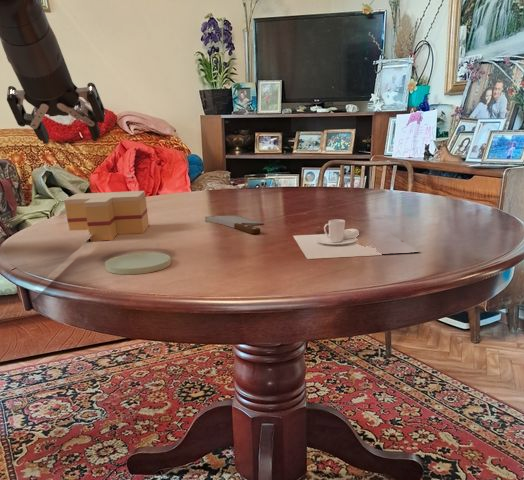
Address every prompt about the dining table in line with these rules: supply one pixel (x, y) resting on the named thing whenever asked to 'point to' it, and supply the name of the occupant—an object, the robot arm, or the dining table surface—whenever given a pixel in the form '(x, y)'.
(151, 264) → the plate
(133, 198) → the cake
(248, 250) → the dining table surface
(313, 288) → the dining table surface
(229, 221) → the kitchen cleaver
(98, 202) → the cake slice
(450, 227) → the dining table surface
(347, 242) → the teacup and saucer
